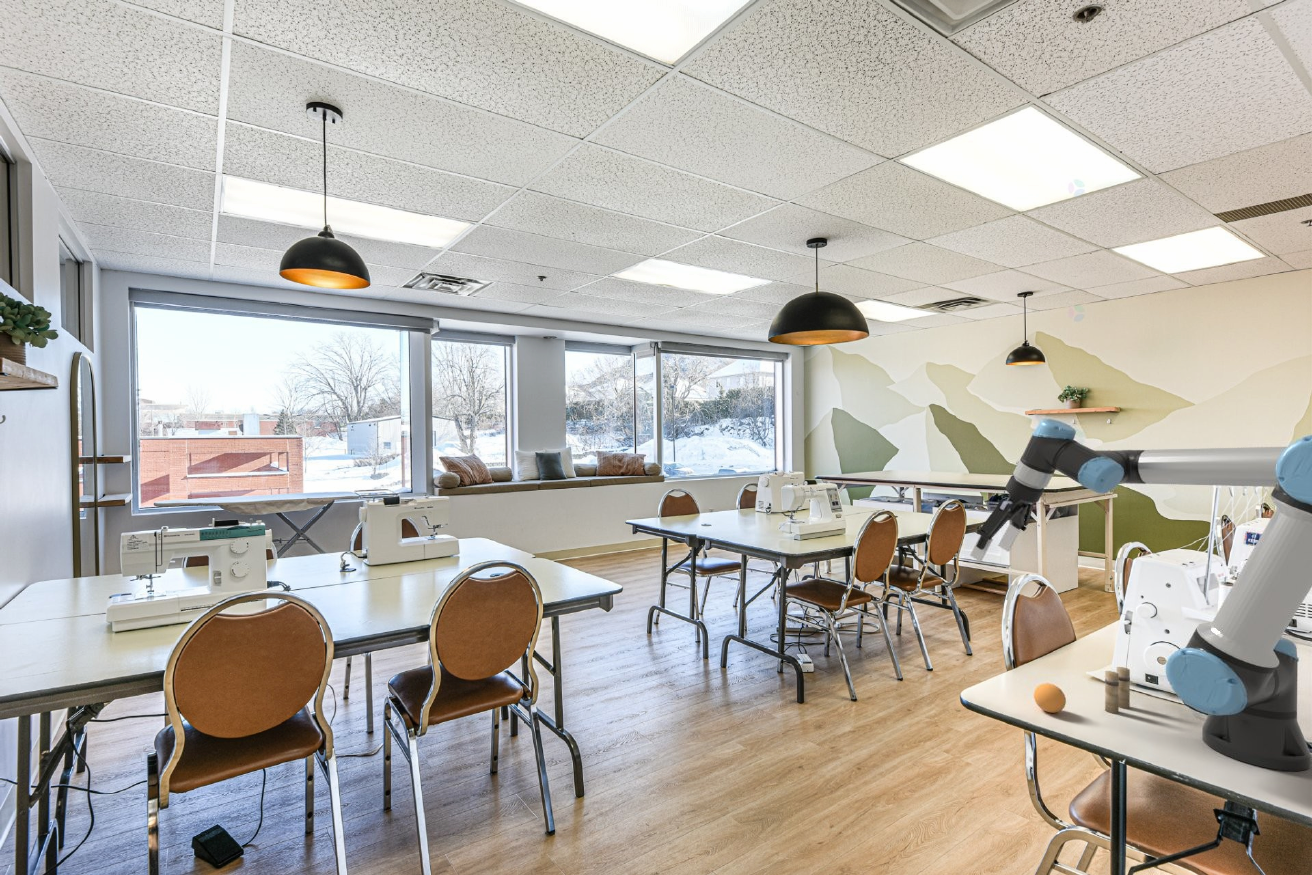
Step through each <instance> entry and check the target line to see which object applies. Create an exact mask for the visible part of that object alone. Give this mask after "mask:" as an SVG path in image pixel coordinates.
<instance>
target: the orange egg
mask: <svg viewBox="0 0 1312 875" xmlns="http://www.w3.org/2000/svg"><path fill="white" fill-rule="evenodd" d="M1033 698H1034V701H1035V703H1036V705H1037V706H1038V707H1039V708H1040V709H1041V710H1043V711H1045V712H1047V713H1053V714H1054V713H1059V712H1061V711H1062V710H1063V709H1065V706H1066V704H1067V700H1066V695H1065V693H1064V692H1063V691H1062V689H1061V688H1059V686H1057V685H1055V684H1052V683H1047V682H1045V683H1041V684H1039V685H1038V686H1037V687H1035V689H1034V691H1033Z"/></svg>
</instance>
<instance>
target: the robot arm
mask: <svg viewBox="0 0 1312 875" xmlns="http://www.w3.org/2000/svg"><path fill="white" fill-rule="evenodd" d="M1076 433H1077V431H1076V429H1075V428H1074V427H1072V426H1071V425H1069V424H1068V423H1065V422H1062V421H1060V420H1056V419H1053V418H1052V419H1051V418H1045V419H1042V420H1041V421H1040V422H1039V423H1038V425H1037V427H1036V428H1035V430H1034V432H1033V433H1032V434H1031V437H1030V440H1029V441H1028V443H1027V445H1026V447H1025V450H1024V451H1023V454H1022V455H1021V457H1020V459H1019V460H1017V461H1016V463H1015V464H1016V466H1015V469H1014V471H1013V472H1012V474H1013V475H1011V476H1010V477H1009V480H1008V481H1007V483H1006V485H1005V490H1006V492H1007V493H1008V495H1009V496H1008V498H1006V499H1005V500H1004V499H1000V500H999V502H998V504H997V505H996V507H995V508H994V509H993V511H992V512H991V514H990V515H989V516H988V517H987V519H986V520H985V521H984V523H983V524H982V525H981V527H980V528H979V529H978V530H977V534H978V535H979V537H978V539H977V541H976V543H975V544H974V547H973V549H972V551H971V552H970V555H969V556H970V557H972V558H973V559H975V560H976V561H977V562H979V563H980V562H983V559H984V557H985V555H986V553H987V552H988V550H989V548H990V546H991V544H992V542H993V540H994V539H993V538H994V536H996V534H997V533H999V531H1000V529H1002V528H1003V527H1004V525H1005V524H1006V523H1007V522H1008V521H1011V524H1009V525H1008V526H1007V527H1006V528H1007V529H1006V530H1005V532H1004V533H1003V535H1002V537H1001V539H1000V541H999V543H998V545H997V546H998V547H999V548H1001V549H1003V550H1004V551H1005V552H1010V550H1011V549H1012V547H1013V545H1014V543H1015V541H1016V540H1017V538H1018V536H1019V534H1020V533H1021V531H1022V532H1025V531H1026V530H1027V527H1028V525H1029V522H1030V518H1031V515H1032V511H1033V508H1034V505H1035V504H1036V503H1037V502H1039V501H1040V499H1041V497H1042V495H1043V493H1044V492H1045V488H1047V487H1048V485H1049V483H1050V482H1051V480H1052V478H1053V476H1054V474H1055V472H1056V471H1058V472H1060V473H1061V474H1063V475H1064V476H1066V477H1067V478H1070V479H1071V480H1073V481H1075V482H1076V483H1077V484H1080V485H1081V486H1082V487H1083V488H1086V489H1088V490H1091V491H1093V492H1095V493H1097V494H1107V493H1109V492H1110V491H1113V490H1114V489H1115V488H1117V486H1119V484H1126V485H1127V484H1128V485H1129V484H1130V485H1131V484H1135V485H1147V484H1148V485H1150V484H1151V485H1183V486H1184V485H1185V486H1186V485H1191V486H1224V487H1225V486H1226V487H1227V486H1231V487H1264V488H1265V487H1269V488H1271V487H1272V488H1273V490H1272V492H1271V493H1270V495H1269V497H1270V499H1271V500H1272V501H1273V504H1274V505H1275V507H1276V509H1275V511H1274V513H1273V514H1272V515H1271V517H1270V519H1269V521H1268V522H1267V524H1266V526H1265V528H1264V529H1263V531H1262V534H1260V537H1259V539H1258V540H1257V542H1256V545H1255V546H1254V548H1253V549H1252V551H1251V553H1250V555H1249V556H1248V558H1247V560H1246V561H1245V564H1244V565H1243V567H1242V569H1241V571H1240V572H1239V574H1238V576H1237V578H1236V579H1235V582H1234V583H1233V585H1231V586H1232V587H1231V588H1230V590H1229V592H1228V594H1227V595H1226V597H1225V599H1224V600H1223V602H1222V604H1221V606H1220V608H1219V610H1218V612H1217V613H1216V615H1215V617H1214V618H1213V620H1212V622H1210V621H1209V622H1204V623H1199V624H1198V625H1197V627H1196V628H1195V630H1194V632H1193V634H1192V635H1191V637H1190V639H1189V640H1188V642H1187V644H1186V646H1185V647H1183V648H1179V649H1177V651H1174V652H1173V653H1172V654H1170V656H1169V657H1168V659H1167V661H1166V664H1165V676H1166V679H1167V681H1168V682H1169V685H1170V686H1171V689H1172V690H1173V691H1174V693H1175V695H1176V696H1177V697H1179V699H1180V700H1182V701H1183V702H1184V703H1185V704H1187V705H1188V706H1190V707H1191V708H1193V709H1195V710H1196V711H1199V712H1201V713H1204V714H1208V715H1207V717H1206V720H1205V721H1204V723H1203V726H1202V730H1201V731H1202V732H1201V733H1202V741H1203V742H1204V744H1205V745H1207V746H1208V747H1210V748H1211V749H1213V750H1215V751H1216V752H1218V753H1221V754H1222V755H1225V756H1227V757H1228V758H1232V759H1235V760H1237V761H1240V762H1244V763H1247V764H1250V765H1254V766H1258V767H1262V768H1267V769H1271V770H1276V771H1277V770H1278V771H1287V772H1300V771H1306V770H1309V767H1310V768H1311V766H1310V765H1311V751H1310V748H1309V747H1308V744H1307V741H1306V739H1305V737H1304V735H1303V732H1302V729H1301V727H1300V725H1299V722H1298V665H1299V664H1298V662H1299V661H1300V660H1299V657H1298V650H1297V646H1296V644H1295V642H1293V641H1292V640H1290V639H1288V638H1285V637H1282V636H1283V635H1284V633H1285V631H1286V630H1287V628H1288V627H1289V625H1290V623H1291V622H1292V620H1293V619H1294V616H1295V615H1296V613H1297V612H1298V610H1299V608H1300V607H1301V605H1302V604H1303V602H1304V600H1305V599H1306V597H1307V596H1308V594H1309V593H1310V591H1311V589H1312V434H1310V435H1309V434H1308V435H1306V436H1304V437H1301V438H1299V439H1296V440H1295V441H1293V442H1292V443H1290V444H1289V445H1287V446H1264V447H1263V446H1261V447H1259V446H1254V447H1252V446H1250V447H1217V448H1216V447H1215V448H1214V447H1212V448H1211V447H1210V448H1209V447H1208V448H1175V449H1174V448H1172V449H1171V448H1170V449H1169V448H1168V449H1167V448H1166V449H1165V448H1164V449H1163V448H1162V449H1121V450H1119V449H1118V450H1116V449H1115V450H1110V449H1109V450H1102V449H1101V450H1100V449H1099V450H1098V449H1097V450H1095V449H1091V447H1088V446H1086V445H1083V444H1081V443H1080V442H1078V441H1076V440H1075V438H1076V437H1075V436H1076Z"/></svg>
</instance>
